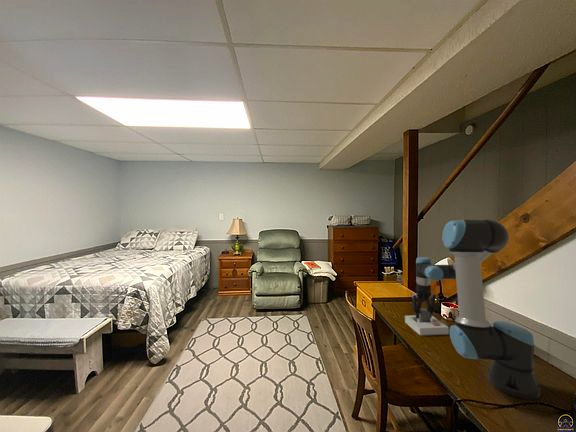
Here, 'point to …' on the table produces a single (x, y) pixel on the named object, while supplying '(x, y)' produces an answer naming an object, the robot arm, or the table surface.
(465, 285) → the robot arm
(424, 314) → the plug
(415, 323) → the socket plate
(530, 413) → the table surface
